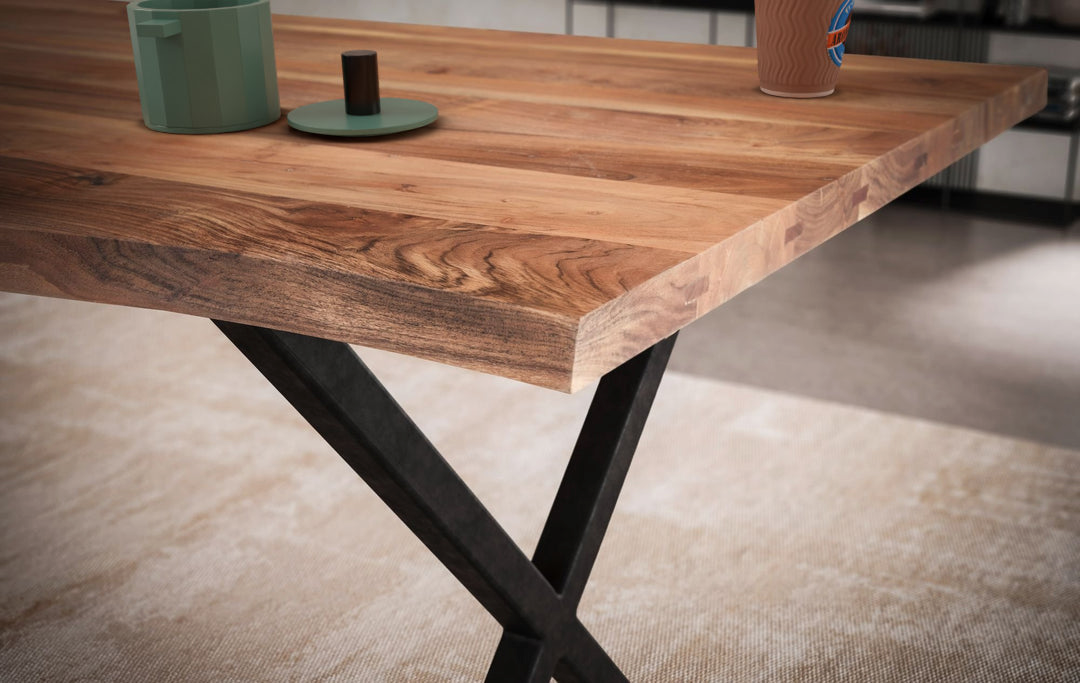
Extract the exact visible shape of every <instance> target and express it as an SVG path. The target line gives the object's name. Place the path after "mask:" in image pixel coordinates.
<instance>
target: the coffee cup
mask: <svg viewBox="0 0 1080 683" xmlns="http://www.w3.org/2000/svg"><path fill="white" fill-rule="evenodd" d="M854 6H855V0H754V16H755V17H754V18H755V19H754V20H755V38H756V53H757V54H756V56H757V76H758V79H759V86H760V90H761V91H762V93H765V94H766V95H771V96H776V97H782V98H792V99H793V98H796V99H808V98H810V99H811V98H820V97H826V96H829V95H832V93H834V92H835V88H836V85H837V82H838V80H839V77H840V71H841V66H842V63H843V57H844V53H845V48H846V43H847V39H848V34H849V29H850V24H851V19H852V16H853V7H854Z"/></svg>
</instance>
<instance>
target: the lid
mask: <svg viewBox="0 0 1080 683" xmlns="http://www.w3.org/2000/svg"><path fill="white" fill-rule="evenodd" d="M340 59H341V60H340V62H341V74H342V85H343V86H342V87H343V98H338V99H329V100H322V101H317V102H314V103H309V104H305V105H302V106H299V107H297V108H294V109H292V110H291V111H289V112H288V113H287V115H286V122H287V125H288V126H290V127H291V128H293V129H295V130H298V131H301V132H307V133H312V134H313V133H314V134H318V135H319V134H320V135H327V136H332V137H333V136H334V137H343V138H344V137H347V138H348V137H349V138H361V137H362V138H363V137H377V136H378V137H379V136H387V135H391V134H397V133H400V132H401V133H402V132H405V131H410V130H414V129H419V128H422V127H424V126H427V125H431V124H432V123H433V122H435V121H437V120H438V118H439V116H440V115H439V114H440V113H439V108H438V106H436V105H434V104H432V103H430V102H427V101H423V100H418V99H412V98H403V97H390V96H389V97H386V96H384V97H383V96H382V97H381V93H380V92H381V90H380V77H379V76H380V74H379V59H378V51H375V50H371V49H354V50H353V49H352V50H346V51H343V52H341V53H340Z"/></svg>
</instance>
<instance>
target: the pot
mask: <svg viewBox="0 0 1080 683" xmlns="http://www.w3.org/2000/svg"><path fill="white" fill-rule="evenodd" d="M126 12H127V21H128V26H129V33H130V39H131V46H132V53H133V60H134V67H135V74H136V81H137V88H138V94H139V102H140V109H141V115H142V116H141V117H142V120H143V121H144V125H145V126H146V127H147V128H148V129H150V130H153V131H157V132H161V133H168V134H180V135H206V134H207V135H208V134H221V133H232V132H233V133H234V132H239V131H247V130H250V129H255V128H256V129H257V128H261V127H263V126H266V125H269V124H272V123H275V122H276V121H278V120H279V119H280V118H281V116H282V114H281V97H280V88H279V78H278V69H277V68H278V67H277V58H276V47H275V37H274V27H273V26H274V25H273V16H272V6H271V0H135V1H130V2H129V3H128V4H126Z"/></svg>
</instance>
